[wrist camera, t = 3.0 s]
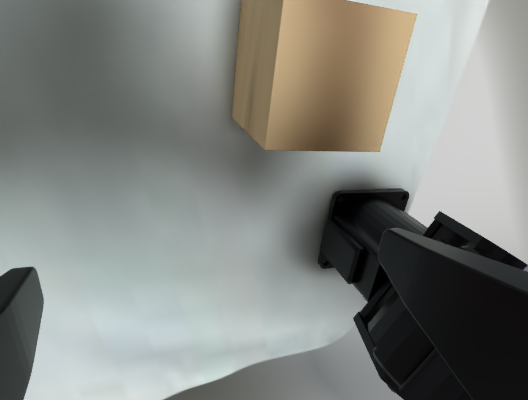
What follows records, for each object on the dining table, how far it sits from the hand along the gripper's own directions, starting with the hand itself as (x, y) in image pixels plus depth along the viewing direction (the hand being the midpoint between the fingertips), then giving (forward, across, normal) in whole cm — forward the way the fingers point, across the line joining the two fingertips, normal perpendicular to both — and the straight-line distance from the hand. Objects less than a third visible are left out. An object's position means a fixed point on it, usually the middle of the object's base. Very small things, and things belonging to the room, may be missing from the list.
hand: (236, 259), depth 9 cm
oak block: (+12, -6, -4) cm, 14 cm away
